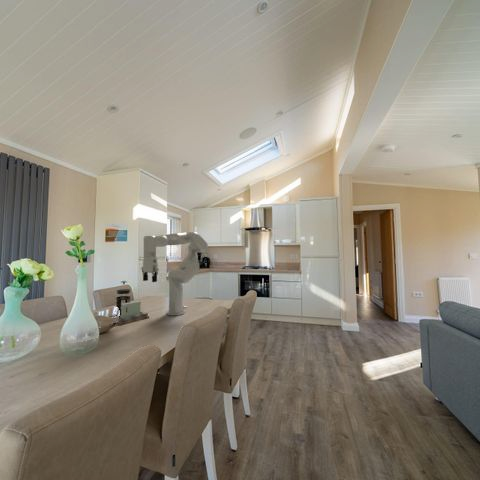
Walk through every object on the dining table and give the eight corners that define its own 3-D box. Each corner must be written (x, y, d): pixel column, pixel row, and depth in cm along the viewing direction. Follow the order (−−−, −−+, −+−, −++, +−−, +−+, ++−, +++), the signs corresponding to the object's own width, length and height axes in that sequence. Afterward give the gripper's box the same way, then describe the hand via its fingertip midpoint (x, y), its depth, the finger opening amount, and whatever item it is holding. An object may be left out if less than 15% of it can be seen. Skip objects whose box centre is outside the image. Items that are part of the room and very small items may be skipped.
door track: (138, 315, 168) (139, 311, 168) (149, 317, 162) (149, 313, 162) (110, 322, 151) (110, 317, 151) (120, 325, 145) (120, 320, 145)
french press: (120, 312, 176) (121, 280, 177) (133, 312, 175) (134, 280, 176) (110, 316, 164) (112, 282, 165) (124, 316, 164) (125, 282, 165)
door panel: (137, 316, 162) (138, 300, 163) (140, 316, 161) (140, 301, 161) (120, 320, 152) (121, 304, 153) (123, 321, 151) (124, 304, 151)
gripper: (163, 254, 155) (163, 281, 155) (147, 254, 165) (147, 279, 165) (152, 255, 149) (152, 283, 149) (136, 254, 159) (137, 281, 159)
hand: (149, 281), depth 157 cm, fingers open, 9 cm apart
